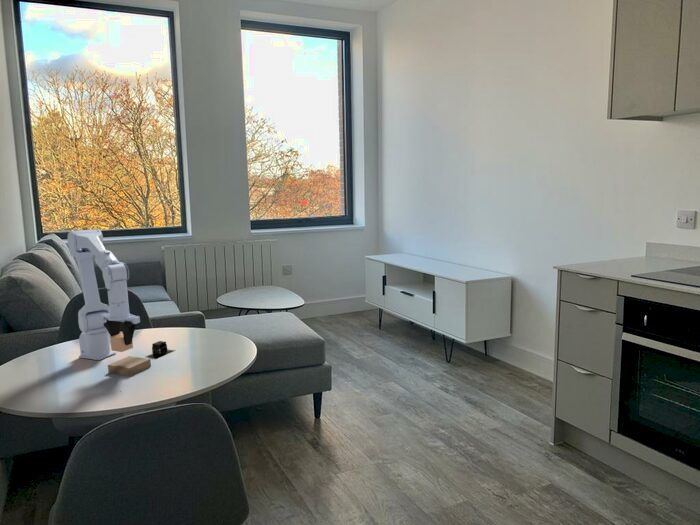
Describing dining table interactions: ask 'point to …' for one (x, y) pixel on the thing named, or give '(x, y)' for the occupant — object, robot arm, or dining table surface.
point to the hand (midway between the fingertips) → (122, 343)
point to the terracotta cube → (119, 343)
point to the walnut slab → (129, 366)
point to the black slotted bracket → (159, 350)
